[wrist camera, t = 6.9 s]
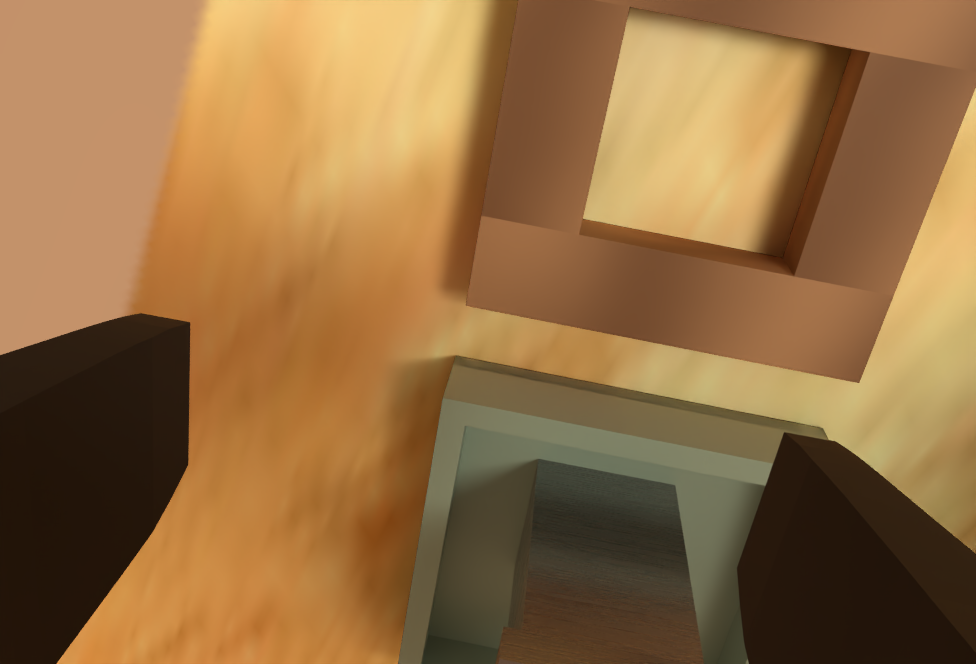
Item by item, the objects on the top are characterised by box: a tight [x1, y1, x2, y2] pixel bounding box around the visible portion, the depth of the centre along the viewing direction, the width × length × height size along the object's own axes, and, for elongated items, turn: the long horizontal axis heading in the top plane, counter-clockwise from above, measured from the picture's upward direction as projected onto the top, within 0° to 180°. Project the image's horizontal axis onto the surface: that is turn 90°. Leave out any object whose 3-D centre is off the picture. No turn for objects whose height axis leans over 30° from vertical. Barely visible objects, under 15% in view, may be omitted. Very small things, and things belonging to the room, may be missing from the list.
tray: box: [398, 356, 828, 664], centre depth 23 cm, size 9×9×2 cm
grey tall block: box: [495, 459, 704, 664], centre depth 20 cm, size 4×4×7 cm
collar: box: [466, 0, 976, 383], centre depth 19 cm, size 9×9×1 cm
